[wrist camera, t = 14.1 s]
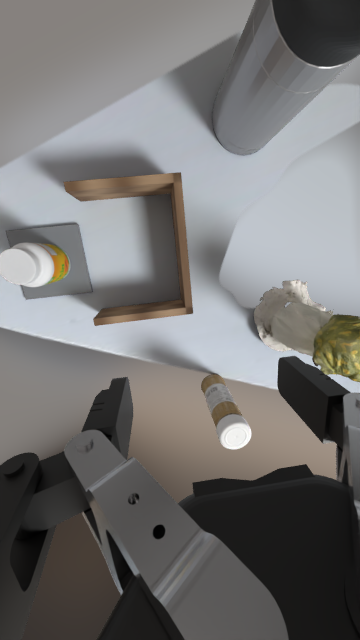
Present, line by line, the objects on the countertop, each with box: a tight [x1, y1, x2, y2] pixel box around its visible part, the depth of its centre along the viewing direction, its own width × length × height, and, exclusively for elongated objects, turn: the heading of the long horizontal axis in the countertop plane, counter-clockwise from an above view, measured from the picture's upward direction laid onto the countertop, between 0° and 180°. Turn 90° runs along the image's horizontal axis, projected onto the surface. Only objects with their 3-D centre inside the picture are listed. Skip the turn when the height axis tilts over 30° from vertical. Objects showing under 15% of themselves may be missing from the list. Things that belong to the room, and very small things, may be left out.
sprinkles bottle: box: [201, 374, 251, 449], centre depth 38 cm, size 5×5×13 cm
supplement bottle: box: [0, 243, 70, 287], centre depth 31 cm, size 5×5×10 cm
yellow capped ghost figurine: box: [254, 280, 360, 382], centre depth 34 cm, size 12×13×18 cm
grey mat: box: [6, 224, 93, 300], centre depth 36 cm, size 10×10×1 cm
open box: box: [64, 173, 193, 326], centre depth 34 cm, size 14×18×6 cm
